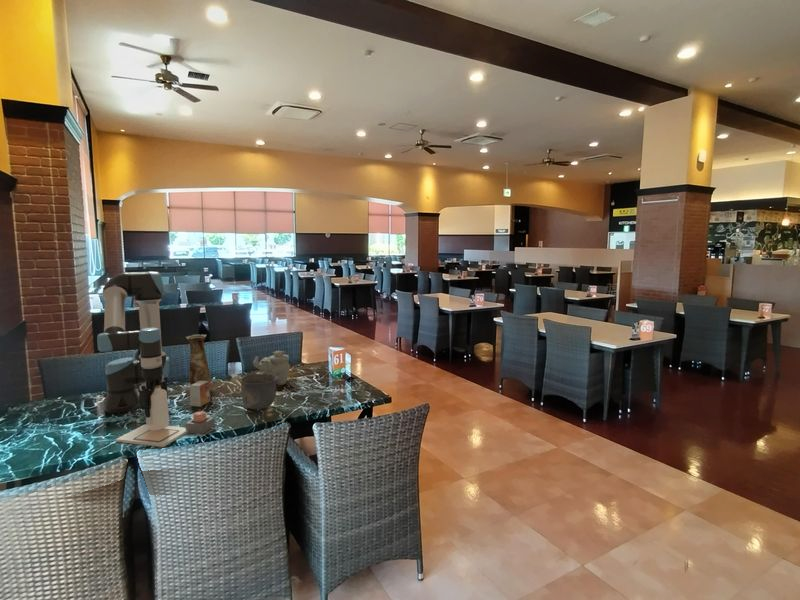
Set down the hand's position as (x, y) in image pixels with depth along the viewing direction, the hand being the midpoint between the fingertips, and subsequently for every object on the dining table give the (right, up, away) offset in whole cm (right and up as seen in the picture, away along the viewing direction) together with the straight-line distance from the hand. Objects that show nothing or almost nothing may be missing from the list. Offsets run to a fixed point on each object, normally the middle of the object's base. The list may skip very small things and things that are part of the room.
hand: (155, 421), depth 185 cm
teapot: (+29, +3, +69) cm, 75 cm away
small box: (+2, -1, +37) cm, 37 cm away
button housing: (+16, -5, +6) cm, 18 cm away
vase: (-6, +1, +56) cm, 56 cm away
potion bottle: (0, -3, +2) cm, 3 cm away
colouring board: (0, -6, -1) cm, 6 cm away
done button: (+16, -2, +6) cm, 17 cm away
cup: (+34, -2, +30) cm, 45 cm away
